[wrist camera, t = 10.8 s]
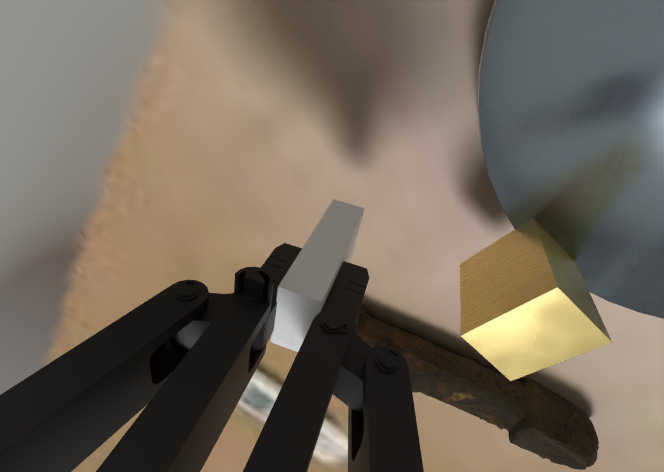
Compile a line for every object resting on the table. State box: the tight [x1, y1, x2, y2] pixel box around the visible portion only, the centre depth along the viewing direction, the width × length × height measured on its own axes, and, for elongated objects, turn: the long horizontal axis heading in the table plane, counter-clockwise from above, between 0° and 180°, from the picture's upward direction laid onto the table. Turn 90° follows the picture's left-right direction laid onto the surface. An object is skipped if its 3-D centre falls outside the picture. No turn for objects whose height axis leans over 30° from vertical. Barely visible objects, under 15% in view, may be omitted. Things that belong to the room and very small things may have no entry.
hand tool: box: [355, 304, 599, 470], centre depth 27 cm, size 19×4×5 cm, turn 71°
